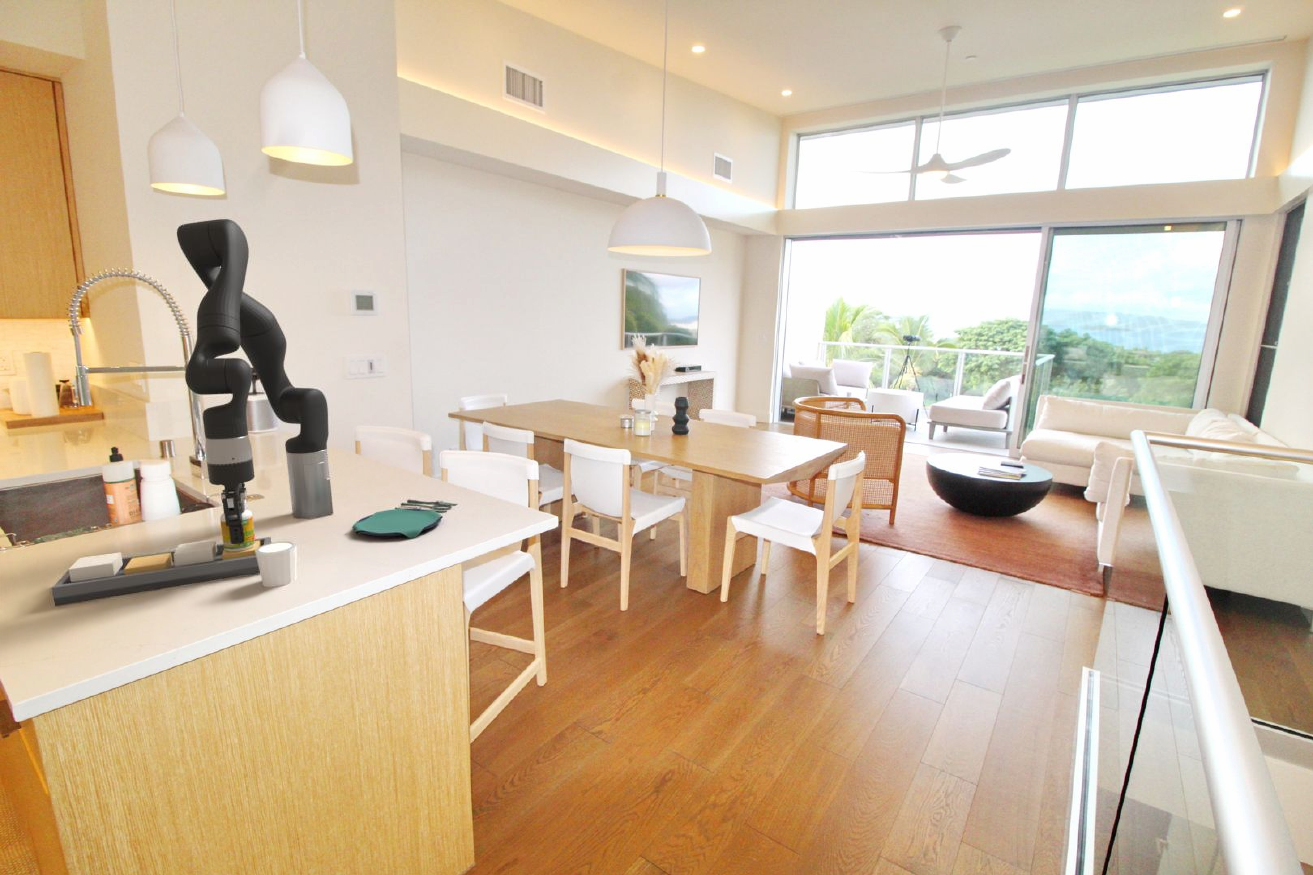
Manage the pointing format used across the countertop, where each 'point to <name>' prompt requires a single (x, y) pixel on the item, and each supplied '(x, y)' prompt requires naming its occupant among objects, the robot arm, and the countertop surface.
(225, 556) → the key
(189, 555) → the key
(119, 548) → the countertop surface
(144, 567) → the key
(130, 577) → the keypad base
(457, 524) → the countertop surface
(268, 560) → the white cup
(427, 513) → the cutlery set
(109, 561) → the key
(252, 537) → the supplement bottle
